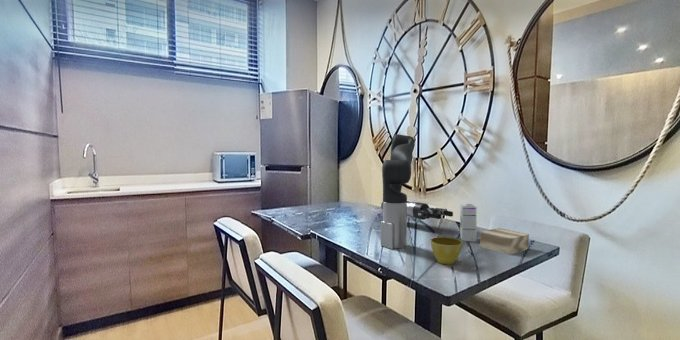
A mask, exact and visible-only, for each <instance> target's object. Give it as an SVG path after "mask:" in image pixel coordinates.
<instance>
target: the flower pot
mask: <svg viewBox="0 0 680 340" xmlns="http://www.w3.org/2000/svg"><path fill="white" fill-rule="evenodd" d="M430 246H431V249H432V253H433V254H434V258H435V259H436V261H437V262H438V263H440V264H442V265H454V264H455V262H456V261H457V260H458V258H459V256H460V254H461V251H462V247H463V241H462V240H461V239H458V238H454V237H447V236H438V237H432V238H430Z"/></svg>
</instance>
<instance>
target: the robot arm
mask: <svg viewBox="0 0 680 340" xmlns="http://www.w3.org/2000/svg"><path fill="white" fill-rule="evenodd" d="M415 145H416V142H415V138H414V137H413V136H410V135H404V134H398V133H396V134H394V135H393V138H392V140H391V145H390V147H391V148H390V159H386V160H384V161H383V163H382V168H381V173H382V175H381V177H382V202H381V204H380V207H381V210H382V221H380V247H384V248H387V249H391V250H393V249H404V248H406V247H407V245H408V244H407V241H408V239H407V237H408V235H407V233H408V232H407V229H408V228H407V225H408V224H407V222H408V217H410V218H413V219H418V220H419V219H420V220H427V219H436V220H441V219H442V216H444V217H445V216H446V217H453V216H454V212H453V211H451V210H448V209H447V208H441V207H435V208H434V207H430V206H429V204H428V203H426V202H425V203H424V202H419V201H408V196H407V194H406V193H404V192H402V190H403V189H402V187H403V185H405V184H408V183H409V182H410V181H411V177H412V163H413V155H414V154H413V153H414V150H415V147H416V146H415Z"/></svg>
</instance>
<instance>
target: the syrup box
mask: <svg viewBox="0 0 680 340" xmlns="http://www.w3.org/2000/svg"><path fill="white" fill-rule="evenodd" d="M477 208H478V207H477V205H475V204H473V203H462V204H460V210H459V211H460V217H459V219H460V220H459V222H460V224H459V226H460V228H459V230H460V232H459V233H460V235H459V238H460V240H461V241H462V242H471V243H472V242H475V243H476V242H477V226H478V225H477V223H478V222H477V219H478V217H477Z"/></svg>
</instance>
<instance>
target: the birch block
mask: <svg viewBox="0 0 680 340" xmlns="http://www.w3.org/2000/svg"><path fill="white" fill-rule="evenodd" d="M479 237H480V238H479V247H481V248H483V249H488V250H491V251H495V252H499V253H502V254H506V255H514V254H516V253H521V252H524V251H526V250H527V249H528V250H529V242H530V241H529V240H530V238H529V237H530V234H529V233H525V232H520V231H515V230H511V229H506V228H500V227H497V228H493V229H488V230H483V231H480V235H479ZM523 250H524V251H523ZM528 250H527V251H528ZM520 251H521V252H520Z"/></svg>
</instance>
